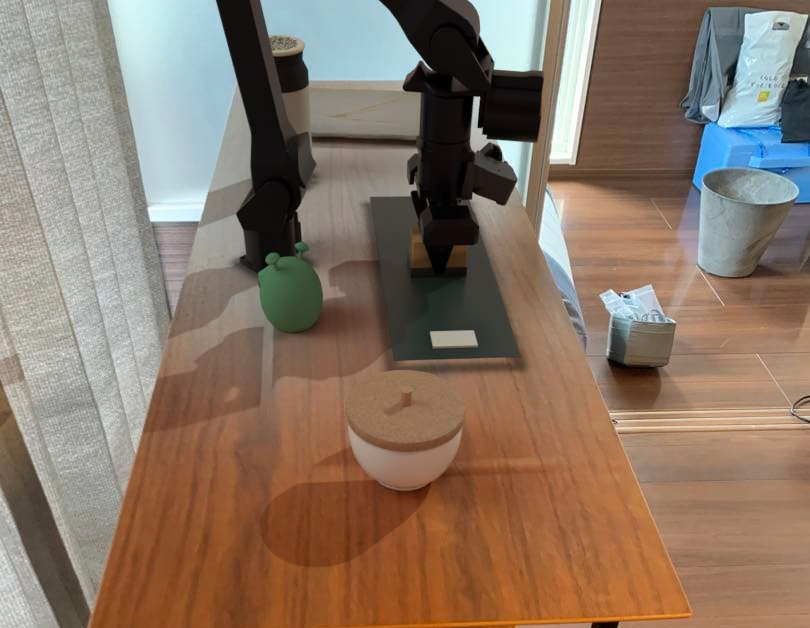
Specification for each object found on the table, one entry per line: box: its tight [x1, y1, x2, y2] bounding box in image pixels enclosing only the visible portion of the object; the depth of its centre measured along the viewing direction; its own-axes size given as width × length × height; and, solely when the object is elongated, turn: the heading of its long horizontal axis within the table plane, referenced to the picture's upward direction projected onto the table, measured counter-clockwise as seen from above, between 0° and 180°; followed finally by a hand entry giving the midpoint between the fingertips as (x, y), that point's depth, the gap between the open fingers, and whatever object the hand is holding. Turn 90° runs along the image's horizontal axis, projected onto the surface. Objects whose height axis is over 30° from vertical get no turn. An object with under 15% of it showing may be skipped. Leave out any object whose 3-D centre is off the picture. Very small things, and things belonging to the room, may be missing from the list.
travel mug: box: [268, 34, 313, 155], centre depth 116 cm, size 8×8×18 cm
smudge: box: [430, 330, 478, 349], centre depth 92 cm, size 3×5×1 cm, turn 96°
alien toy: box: [257, 241, 324, 333], centre depth 91 cm, size 7×8×10 cm
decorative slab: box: [309, 86, 421, 141], centre depth 138 cm, size 27×21×2 cm
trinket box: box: [345, 369, 467, 492], centre depth 76 cm, size 11×11×9 cm
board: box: [369, 195, 522, 362], centre depth 104 cm, size 40×14×1 cm, turn 5°
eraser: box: [407, 227, 468, 277], centre depth 101 cm, size 4×7×4 cm, turn 95°
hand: (436, 265), depth 103 cm, fingers closed on eraser, 4 cm apart
